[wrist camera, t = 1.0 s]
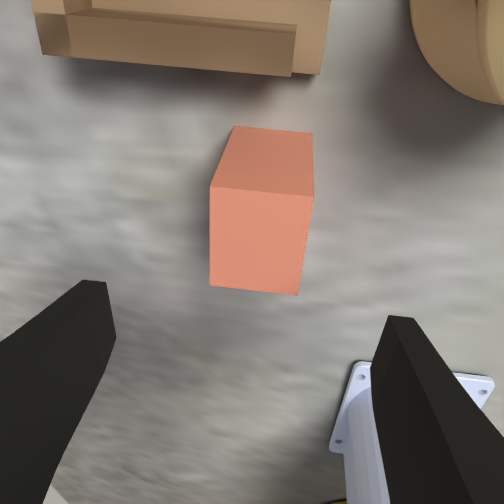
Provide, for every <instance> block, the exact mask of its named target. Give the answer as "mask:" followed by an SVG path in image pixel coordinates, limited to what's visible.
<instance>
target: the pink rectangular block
mask: <svg viewBox="0 0 504 504" xmlns="http://www.w3.org/2000/svg"><path fill="white" fill-rule="evenodd" d="M313 200H314V181H313V148H312V133H302V132H292V131H282V130H271V129H261V128H251V127H240V126H234V128H233V131H232V133H231V136H230V138H229V141H228V143H227V145H226V148H225V150H224V153H223V155H222V158H221V160H220V162H219V165H218V167H217V170H216V172H215V175H214V177H213V179H212V182H211V184H210V285H211V286H220V287H228V288H237V289H245V290H254V291H263V292H271V293H280V294H288V295H297V296H298V290H299V284H300V278H301V272H302V266H303V260H304V254H305V248H306V242H307V236H308V230H309V224H310V218H311V212H312V206H313Z"/></svg>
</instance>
